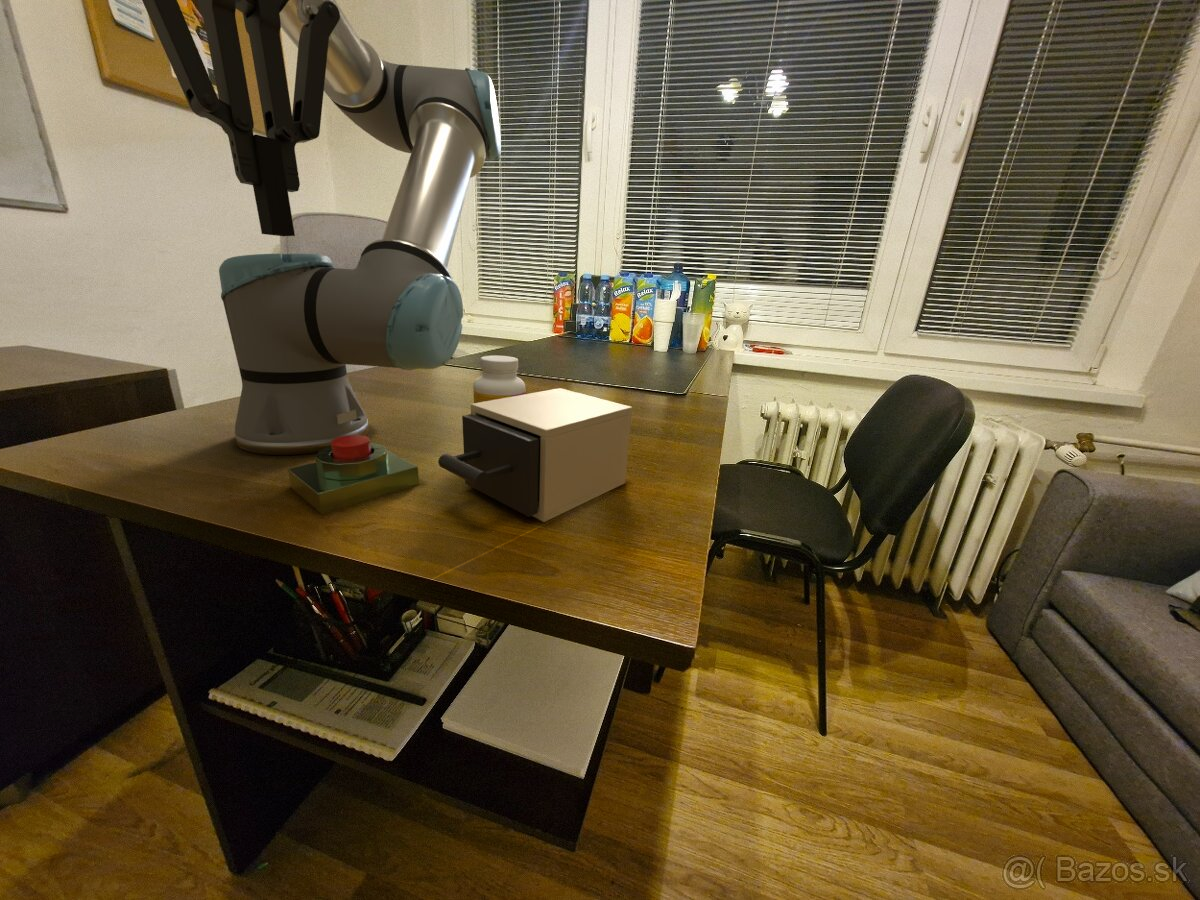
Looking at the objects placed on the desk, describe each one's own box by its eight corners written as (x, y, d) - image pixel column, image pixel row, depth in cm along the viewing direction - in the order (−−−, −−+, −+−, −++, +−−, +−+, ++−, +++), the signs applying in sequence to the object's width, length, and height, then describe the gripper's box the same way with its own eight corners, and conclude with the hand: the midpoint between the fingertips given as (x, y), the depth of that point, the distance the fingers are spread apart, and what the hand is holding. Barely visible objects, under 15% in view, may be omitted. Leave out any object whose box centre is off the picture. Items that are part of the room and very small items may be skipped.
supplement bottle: (514, 464, 56) (513, 364, 52) (466, 457, 57) (462, 359, 53) (531, 447, 63) (533, 357, 58) (488, 441, 64) (486, 352, 59)
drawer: (492, 534, 39) (490, 452, 36) (428, 495, 45) (423, 423, 42) (608, 481, 51) (614, 417, 49) (546, 456, 57) (548, 398, 55)
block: (291, 487, 47) (284, 452, 45) (384, 464, 54) (381, 433, 53) (321, 514, 42) (314, 476, 41) (419, 484, 49) (416, 451, 48)
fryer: (544, 522, 43) (546, 430, 40) (473, 485, 50) (470, 403, 47) (625, 483, 53) (632, 406, 50) (557, 456, 60) (559, 387, 57)
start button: (327, 455, 46) (325, 439, 46) (362, 447, 49) (360, 432, 48) (342, 464, 44) (339, 448, 44) (377, 456, 47) (376, 440, 46)
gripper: (42, -352, 20) (179, 220, 28) (344, -137, 30) (381, 244, 38) (38, -246, 24) (158, 224, 33) (302, -88, 34) (344, 244, 42)
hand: (278, 234), depth 35 cm, fingers closed
